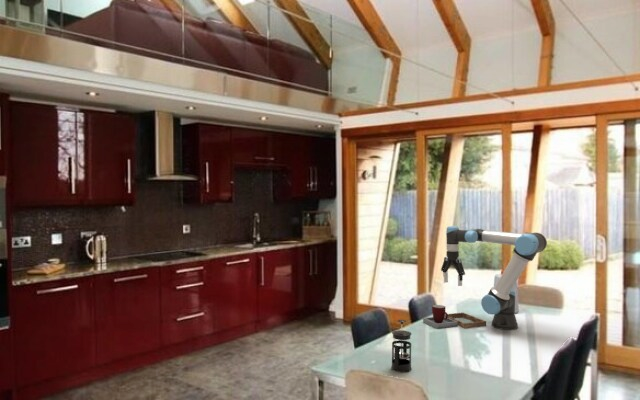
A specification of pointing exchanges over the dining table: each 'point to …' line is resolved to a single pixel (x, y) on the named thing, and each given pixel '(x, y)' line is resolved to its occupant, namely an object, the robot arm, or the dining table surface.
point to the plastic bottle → (512, 289)
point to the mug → (439, 313)
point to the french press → (401, 357)
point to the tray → (445, 323)
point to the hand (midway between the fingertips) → (452, 284)
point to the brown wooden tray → (475, 323)
